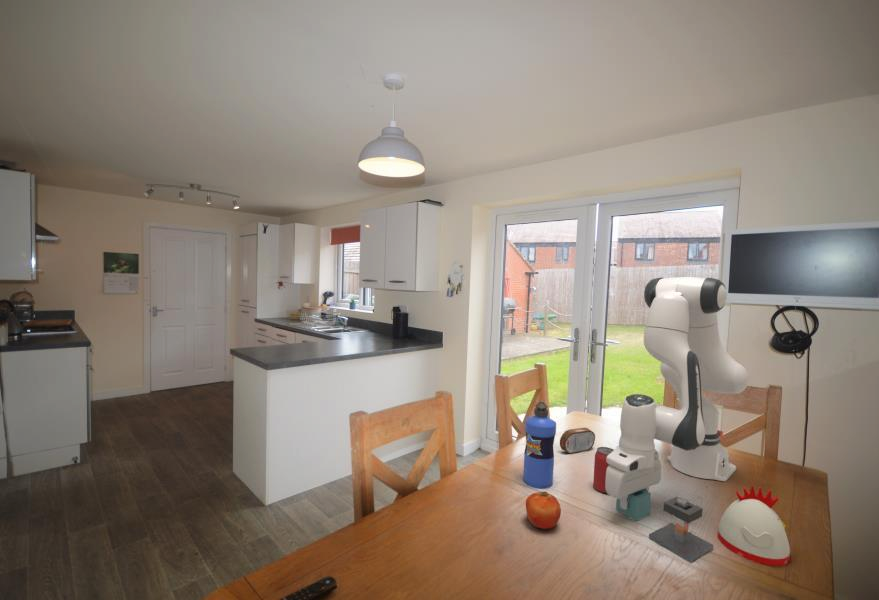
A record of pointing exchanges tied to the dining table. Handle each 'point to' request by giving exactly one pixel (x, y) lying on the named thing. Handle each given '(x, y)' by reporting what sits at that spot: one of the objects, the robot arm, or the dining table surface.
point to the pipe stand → (681, 537)
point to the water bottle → (539, 448)
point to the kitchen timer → (755, 529)
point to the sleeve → (636, 505)
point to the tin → (577, 440)
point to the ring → (682, 510)
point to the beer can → (601, 468)
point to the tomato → (543, 510)
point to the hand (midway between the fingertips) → (633, 504)
